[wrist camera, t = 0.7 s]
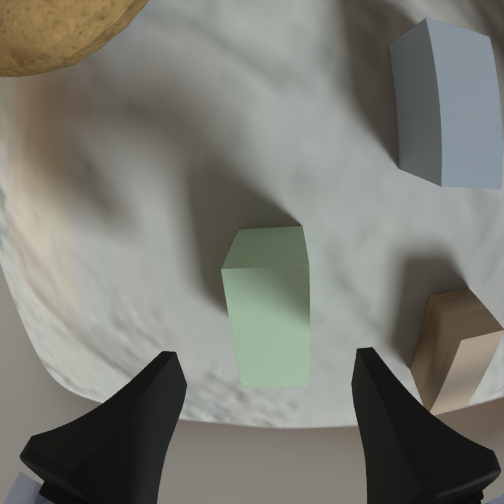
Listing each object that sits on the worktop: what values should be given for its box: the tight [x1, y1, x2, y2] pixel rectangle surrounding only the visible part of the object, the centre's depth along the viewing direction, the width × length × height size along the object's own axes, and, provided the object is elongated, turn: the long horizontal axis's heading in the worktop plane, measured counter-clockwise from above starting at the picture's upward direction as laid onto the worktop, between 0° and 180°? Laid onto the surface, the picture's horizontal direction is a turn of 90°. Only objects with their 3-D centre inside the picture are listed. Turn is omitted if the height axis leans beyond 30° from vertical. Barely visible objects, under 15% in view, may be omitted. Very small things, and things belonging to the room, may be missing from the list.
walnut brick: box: [410, 289, 504, 415], centre depth 16 cm, size 7×4×5 cm, turn 6°
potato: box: [0, 0, 149, 77], centre depth 8 cm, size 10×14×8 cm
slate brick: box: [388, 18, 502, 189], centre depth 10 cm, size 7×4×5 cm, turn 6°
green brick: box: [221, 226, 310, 387], centre depth 15 cm, size 7×4×5 cm, turn 5°
